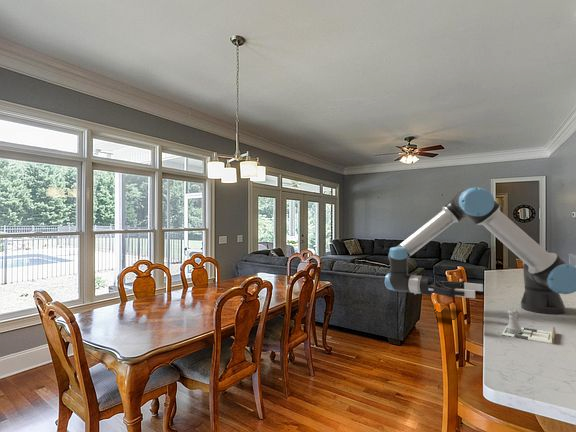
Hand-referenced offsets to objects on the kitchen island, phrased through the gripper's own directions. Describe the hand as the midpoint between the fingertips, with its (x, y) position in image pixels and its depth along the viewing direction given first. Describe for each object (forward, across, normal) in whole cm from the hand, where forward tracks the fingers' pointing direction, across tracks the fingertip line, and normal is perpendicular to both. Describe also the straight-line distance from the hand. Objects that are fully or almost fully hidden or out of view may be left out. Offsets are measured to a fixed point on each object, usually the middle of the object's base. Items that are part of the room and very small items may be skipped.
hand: (479, 291), depth 121 cm
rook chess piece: (+10, 0, -14) cm, 17 cm away
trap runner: (+15, 0, -13) cm, 20 cm away
